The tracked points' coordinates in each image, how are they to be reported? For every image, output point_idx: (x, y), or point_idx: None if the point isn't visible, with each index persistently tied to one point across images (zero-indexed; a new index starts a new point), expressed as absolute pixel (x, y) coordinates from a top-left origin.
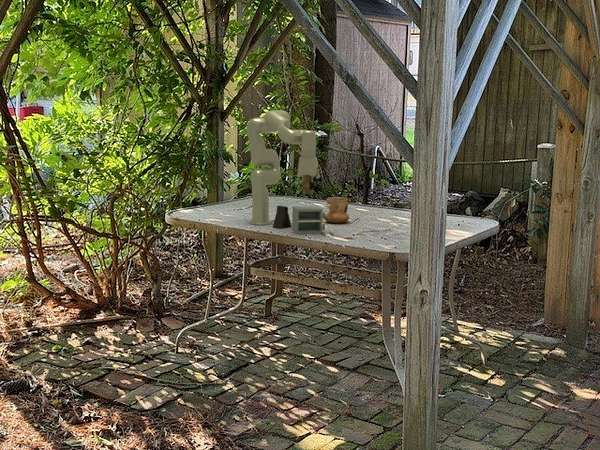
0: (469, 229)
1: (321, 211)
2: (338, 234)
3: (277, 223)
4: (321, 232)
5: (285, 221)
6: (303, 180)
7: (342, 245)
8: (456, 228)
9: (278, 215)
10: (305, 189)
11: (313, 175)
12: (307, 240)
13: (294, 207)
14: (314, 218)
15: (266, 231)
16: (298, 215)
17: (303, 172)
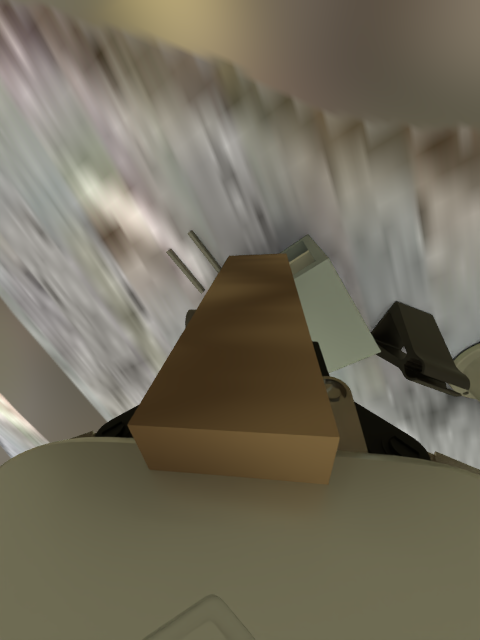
0: (19, 438)
1: None
2: (175, 289)
3: (419, 320)
4: None
5: (392, 350)
6: (289, 323)
7: (19, 46)
8: (40, 441)
9: (435, 347)
10: (253, 269)
11: (40, 449)
12: (203, 86)
13: (361, 322)
14: None
15: (448, 225)
16: (312, 255)
17: (359, 600)
